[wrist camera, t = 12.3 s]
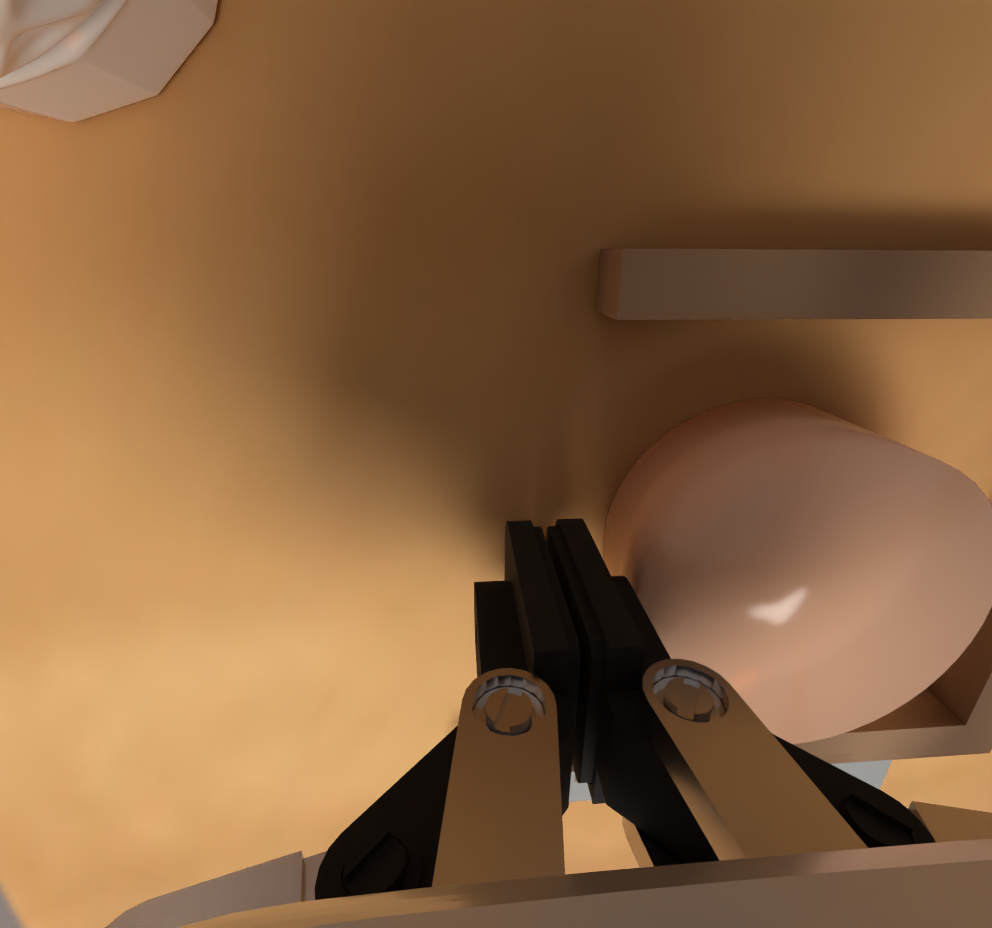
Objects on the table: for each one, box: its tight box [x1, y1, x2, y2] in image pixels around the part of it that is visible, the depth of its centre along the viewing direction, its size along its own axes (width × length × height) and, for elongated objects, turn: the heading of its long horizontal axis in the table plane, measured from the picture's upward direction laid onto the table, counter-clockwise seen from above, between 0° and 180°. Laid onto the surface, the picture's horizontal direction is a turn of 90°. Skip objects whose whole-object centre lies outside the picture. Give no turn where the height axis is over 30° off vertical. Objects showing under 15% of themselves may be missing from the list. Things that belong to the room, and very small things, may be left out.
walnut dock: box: [574, 248, 992, 782], centre depth 12 cm, size 12×13×2 cm
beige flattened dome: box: [603, 399, 992, 744], centre depth 12 cm, size 7×7×4 cm
